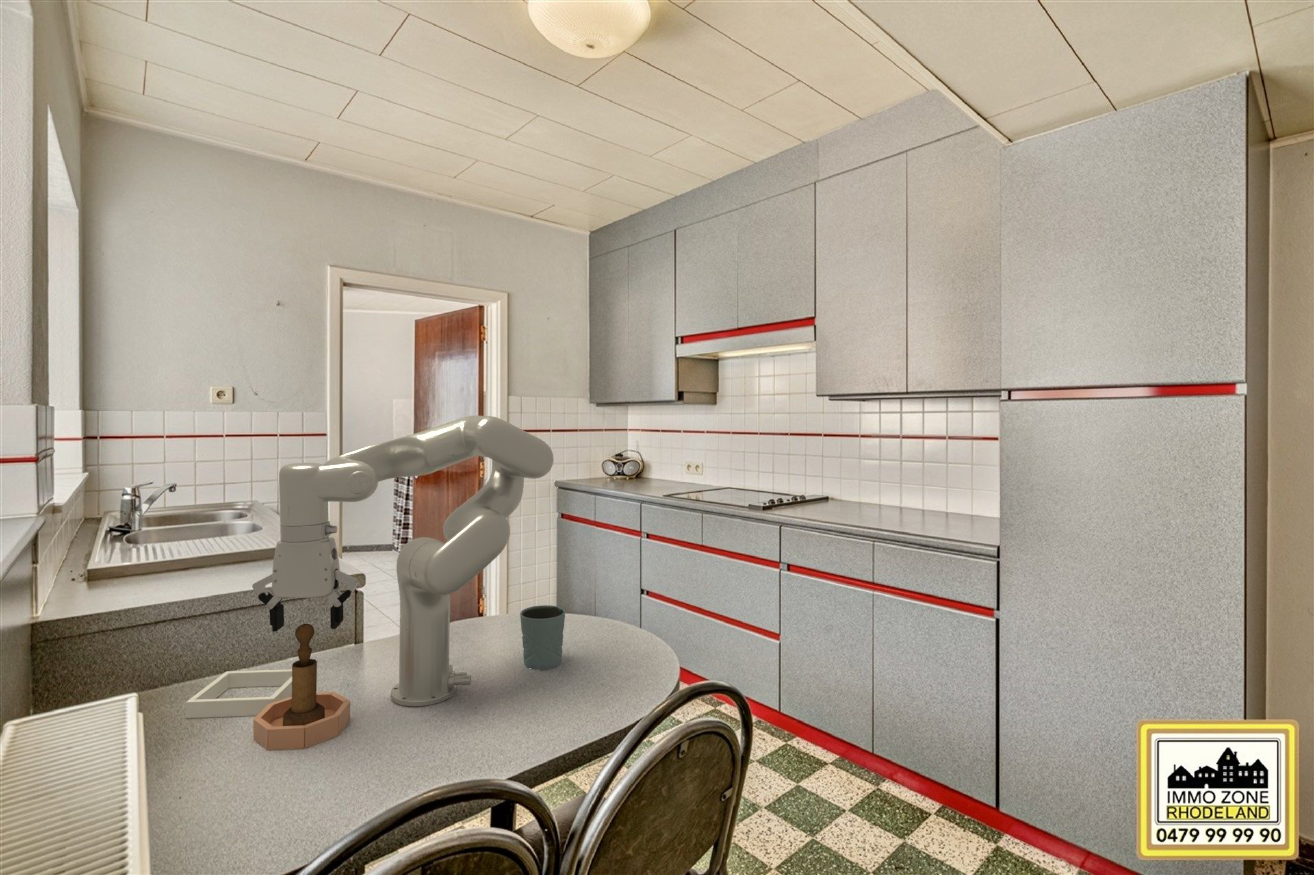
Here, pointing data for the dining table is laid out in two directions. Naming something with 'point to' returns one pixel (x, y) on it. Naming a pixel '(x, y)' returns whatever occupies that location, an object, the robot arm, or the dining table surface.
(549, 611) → the drinking glass
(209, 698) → the open rectangular frame
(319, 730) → the terracotta bowl
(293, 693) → the dark brown knobbed post
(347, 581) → the robot arm
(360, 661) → the dining table surface
